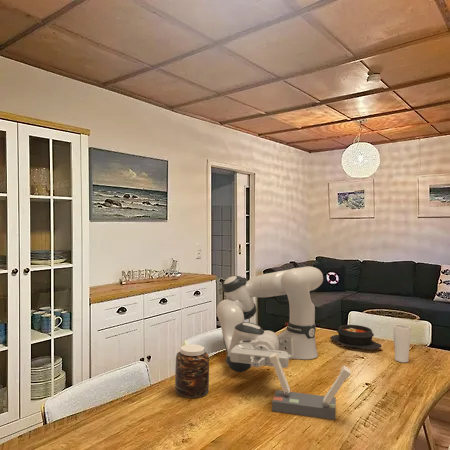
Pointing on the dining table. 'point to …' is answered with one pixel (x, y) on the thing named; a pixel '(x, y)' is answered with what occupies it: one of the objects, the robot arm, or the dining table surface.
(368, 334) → the casserole
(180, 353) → the jar
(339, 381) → the on lever
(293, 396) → the panel
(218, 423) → the dining table surface
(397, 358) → the drinking glass
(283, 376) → the lever
